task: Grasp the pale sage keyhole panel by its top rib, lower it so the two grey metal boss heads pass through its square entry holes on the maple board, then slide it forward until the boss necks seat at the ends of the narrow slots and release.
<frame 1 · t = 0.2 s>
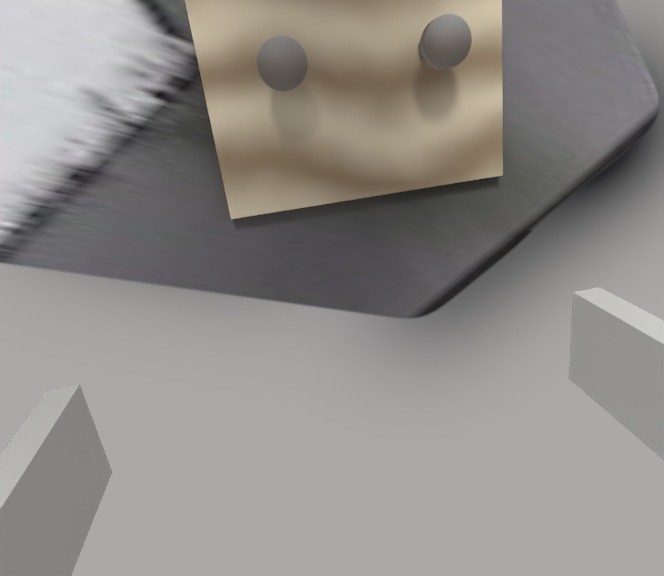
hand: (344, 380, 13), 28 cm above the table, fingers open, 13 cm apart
boss board: (355, 74, 36), on the table
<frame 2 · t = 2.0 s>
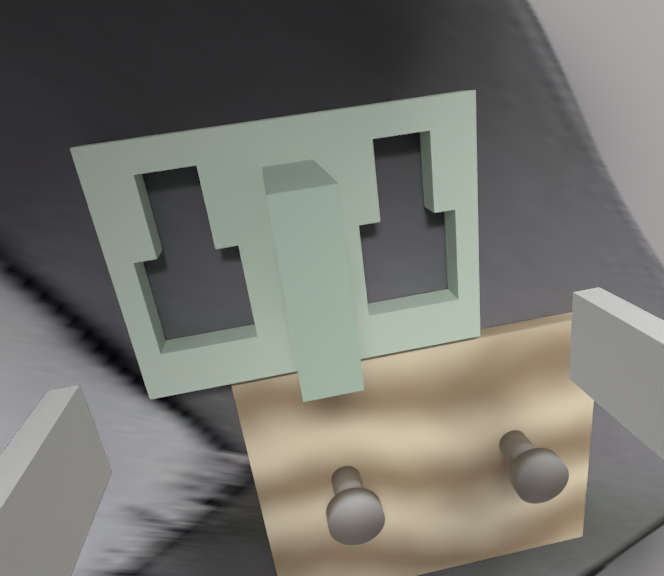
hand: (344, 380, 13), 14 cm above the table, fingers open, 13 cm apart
boss board: (426, 461, 32), on the table
panel: (299, 245, 26), on the table
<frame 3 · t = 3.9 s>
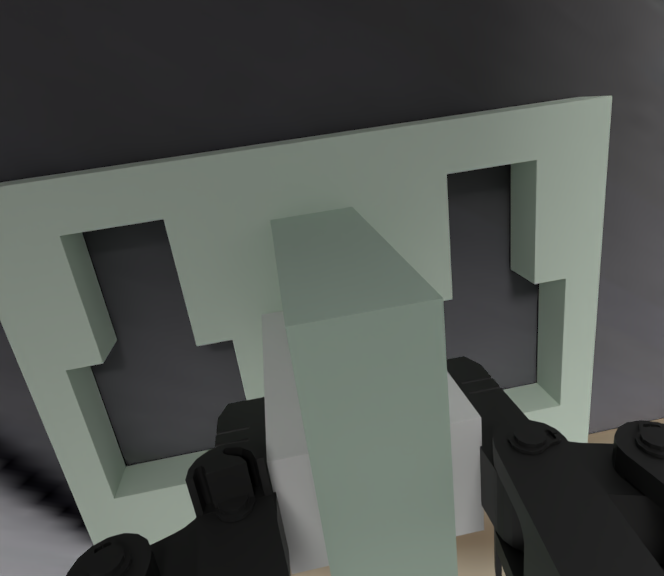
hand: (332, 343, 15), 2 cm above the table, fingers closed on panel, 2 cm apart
panel: (325, 329, 17), on the table, touching gripper
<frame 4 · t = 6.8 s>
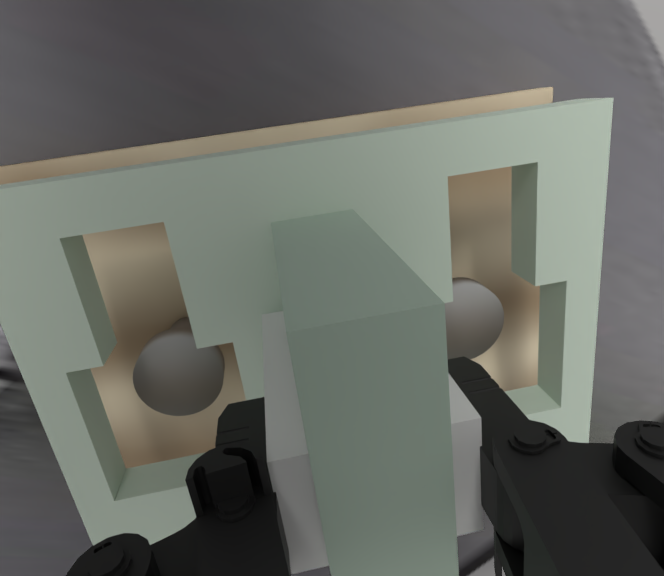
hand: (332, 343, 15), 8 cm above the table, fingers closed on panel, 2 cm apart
boss board: (315, 324, 23), on the table
panel: (325, 331, 17), point 5 cm above the table, touching gripper
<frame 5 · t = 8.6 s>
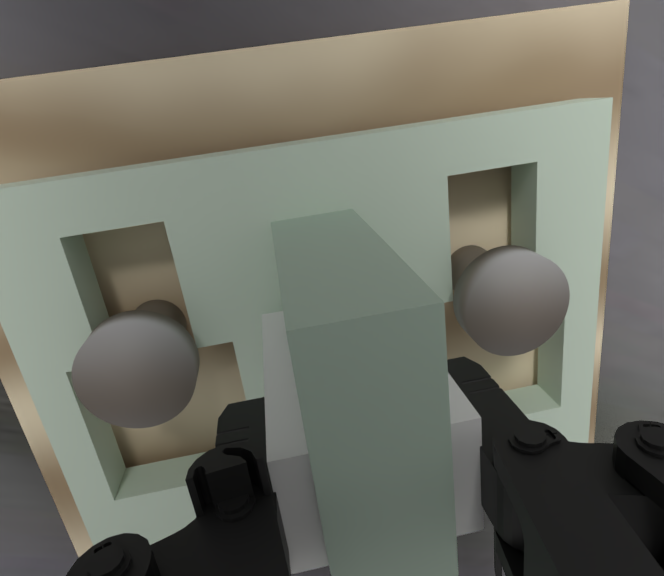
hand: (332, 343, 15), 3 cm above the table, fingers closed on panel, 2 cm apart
boss board: (318, 310, 18), on the table
panel: (325, 330, 17), point 1 cm above the table, touching gripper
when the fingers open (3 cm above the table, at t = 10.0 s): panel stays where it is, resting on boss board.
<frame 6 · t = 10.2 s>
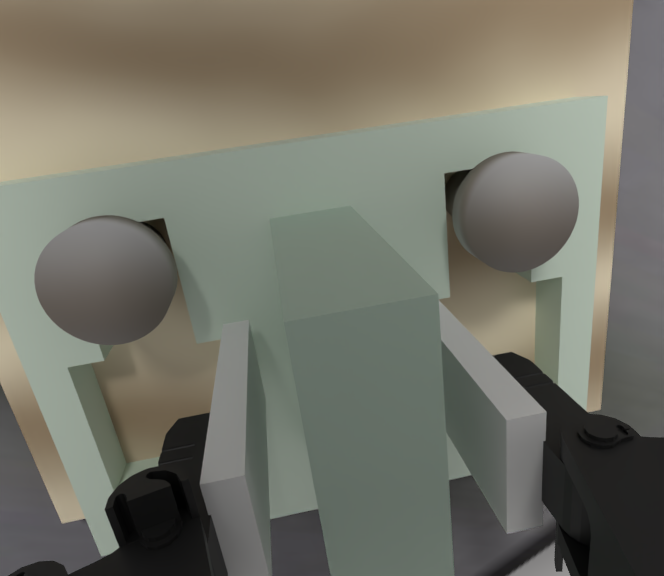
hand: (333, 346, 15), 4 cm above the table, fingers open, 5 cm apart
boss board: (309, 242, 17), on the table
panel: (324, 327, 17), point 1 cm above the table, touching boss board
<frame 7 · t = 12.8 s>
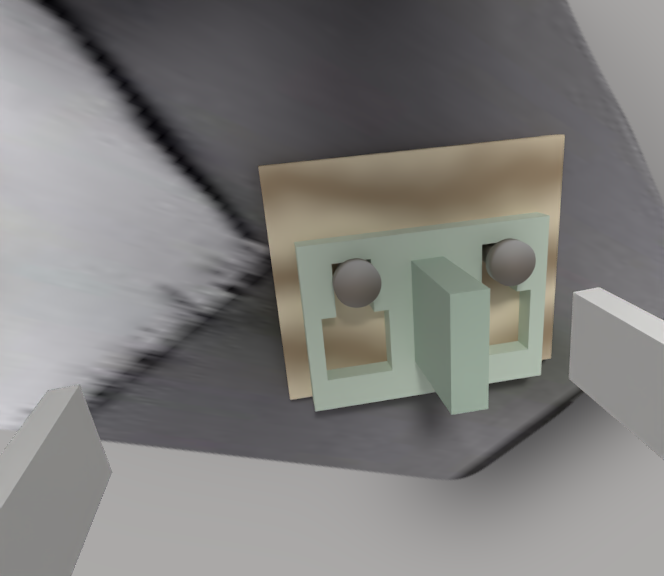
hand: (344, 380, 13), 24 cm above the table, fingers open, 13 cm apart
boss board: (416, 269, 38), on the table
panel: (422, 309, 38), point 1 cm above the table, touching boss board
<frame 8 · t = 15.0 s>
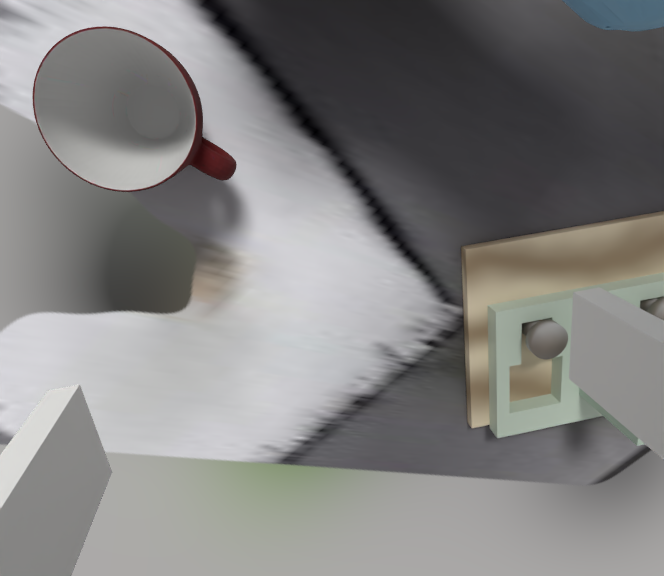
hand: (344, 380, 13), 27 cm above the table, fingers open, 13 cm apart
boss board: (577, 318, 45), on the table
mug: (172, 120, 35), on the table
panel: (582, 351, 46), point 1 cm above the table, touching boss board
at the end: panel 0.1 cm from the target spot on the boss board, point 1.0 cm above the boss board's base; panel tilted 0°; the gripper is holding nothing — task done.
